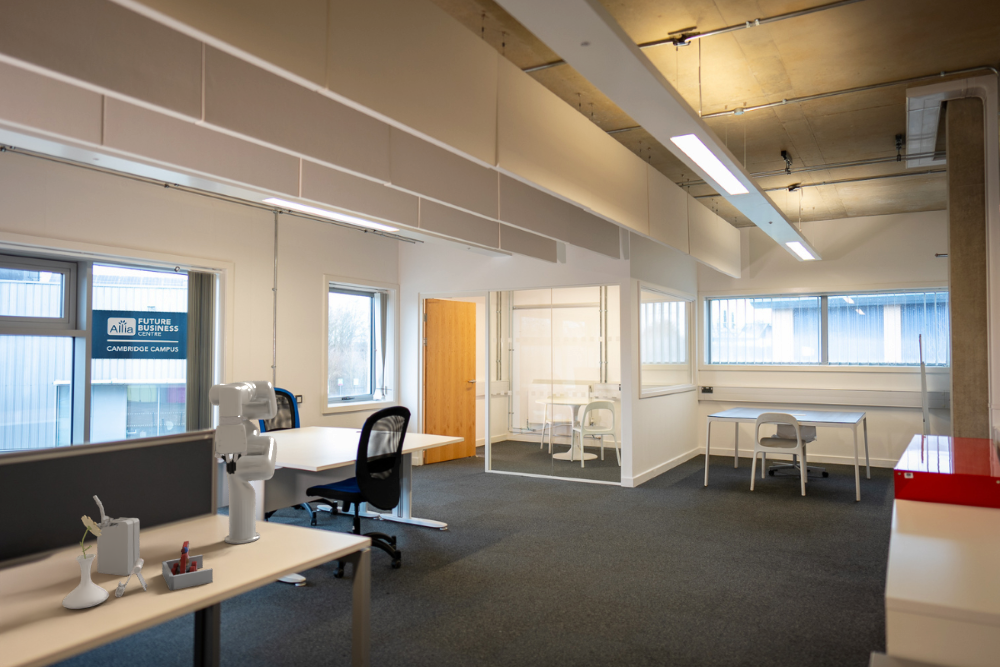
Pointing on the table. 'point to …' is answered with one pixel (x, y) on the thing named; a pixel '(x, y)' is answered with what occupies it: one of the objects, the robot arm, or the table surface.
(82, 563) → the flower in vase
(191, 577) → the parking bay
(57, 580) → the table surface
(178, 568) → the toy fire truck
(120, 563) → the fuel canister
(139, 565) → the portable electronic device stand
